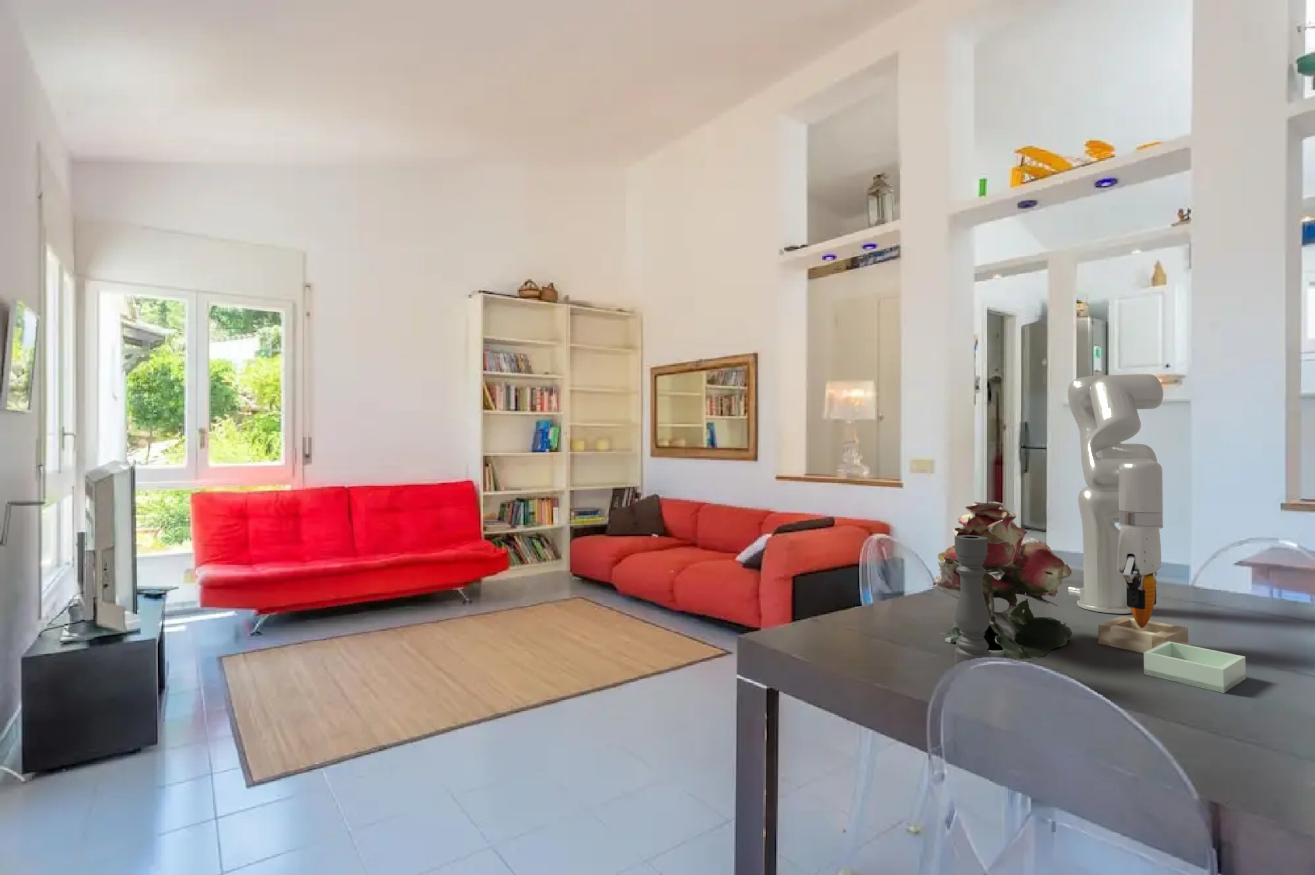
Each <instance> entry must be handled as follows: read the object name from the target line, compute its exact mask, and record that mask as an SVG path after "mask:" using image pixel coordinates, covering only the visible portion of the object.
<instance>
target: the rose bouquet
mask: <svg viewBox="0 0 1315 875" xmlns="http://www.w3.org/2000/svg"><path fill="white" fill-rule="evenodd" d="M973 502H974V501H973ZM1003 506H1004V503H1001V502H997V501H987V502H980V501H979V502H977V501H975V502H974V503H973V504H971V505H968V506H964V507H965V509H966V510H967V511H968V512H969V513H967V514H963V515H961V516H960V517H959V518H957V520H958V524H960V525H962V527H953V529H952V533H953V535H954V539H955V536H961V535H970V536H982V537H986V538H987V556H986V559H985V561H984V563H983V565H982V567H983V568H985V569H986V574H985V575H983V577H982V582H983V595H984V599H985V603H986V607H987V611H988V615H989V618H990V623H989V627H988V628H987V630H986V631H985V635H984V636H983V638H985V640H986V642H987V643H994V641H995V643H996V644H998V645H1000V646H1001V647H1002V650H998V649H997V650H991V649H990V650H989V648H988V649H987V650H988V651H989V652H990V653H992V654H995V655H998V656H1000V657H1004V658H1005V659H1008V658H1011V659H1014V660H1025V661H1027V662H1030V661H1031V662H1032V661H1034V660H1035V658H1036V659H1040V658H1043V657H1045V656H1046V655H1047V654H1050V653H1051V650H1053V649H1056V648H1060V647H1064V646H1066V645H1067V643H1068V641H1069V640H1072V639H1073V631H1072V630H1071V629H1072V628H1070V627H1069V626H1067V623H1066V622H1064V623H1062V622H1061V620H1058V619H1056V618H1053V617H1051V616H1049V617H1044V616H1043V617H1042V616H1039V617H1035V616H1034V613H1033V612H1032V611H1031V608H1030V604H1029V600H1028V599H1029V598H1032V599H1034V600H1036V601H1038V602H1041V603H1044V604H1047V605H1049V604H1051V605H1054V606H1055V607H1058V604H1055V603H1054V602H1051V601H1049V600H1046V599H1044V598H1043V596H1047V595H1048V596H1050V597H1052V598H1055V597H1056V595H1057V594H1058V593H1059V592H1058V587H1059V586H1061V585H1062V584H1063V582H1062V580H1063V579H1066V578H1068V577H1070V576H1071V575H1072V569H1071V567H1070V566H1069V564H1067V563H1066V564H1065V562H1064V561H1063V560H1062V558H1060V557H1058V556H1057V555H1056V554H1055V553H1054V552H1053V550H1052V549H1051V547H1050V546H1049V545H1048V544H1047V542H1046V541H1045V542H1044V541H1041V540H1040V539H1037V538H1035V537H1034V538H1033V537H1025V535H1026V534H1027V533H1028V531H1027V530H1025V528H1024V527H1022V528H1021V527H1018V525H1017V524H1015V522H1014V519H1016V518H1017V515H1016V513H1014V512H1011V511H1009V510H1008V509H1007V508H1004V507H1003ZM956 556H957V555H956V554H955V543H954V544H953V545H951V546H949V547H948V548H947V549H945V551H943V552H939V553H938V554H937V559H938V560H939V561H937V564H938V567H939V568H938V570H939V571H940V574H939V575H940V576H939V575H938V576H935V579H936V580H937V581H934V582H933V583H932V587H931V588H932V589H934V590H937V591H939V592H942V593H944V594H946V595H948V596H950V597H953V598H955V599H956V600H959V596H960V591H961V586H960V575H959V573H958V572H957V571H956V569H957V567H958V566H960V563H959V561H958V559H957V557H956ZM1017 595H1020V596H1021V595H1023V596H1027V597H1029V598H1025V599H1024V600H1022V601H1021V602H1019V603H1018V604H1017V602H1018V598H1017ZM994 599H1002V600H1005V601H1007V603H1008V607H1007V609H1006V610H1003V611H1001V612H998V611H997V612H996V611H995V601H994ZM959 631H960V629H959V628H958V627H957V625H956V623H955V622H953V623H952V626H951V629H949V630H947V631H944V632H939V633H938V634H939V635H950V636H949V637H945V638H944V642H945V643H948V644H953V643H956V641H957V639H959V637H960V635H961V633H960V632H959ZM1030 657H1032V658H1033V659H1032V658H1030ZM1025 661H1024V662H1025Z"/></svg>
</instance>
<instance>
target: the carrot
mask: <svg viewBox="0 0 1315 875" xmlns="http://www.w3.org/2000/svg"><path fill="white" fill-rule="evenodd" d="M1152 566H1153V565H1152ZM1133 574H1140V573H1138V572H1137V571H1136V573H1135V572H1133ZM1134 578H1136V579H1137V580H1138V582H1139V578H1138V577H1134ZM1156 582H1157V581H1156ZM1156 582H1155V578H1154V577H1152V576H1150V575H1145V576H1144V584H1143V590H1145V609H1137V608H1132V607H1130V608H1131V612H1132V613H1131V614H1132V618H1134V619H1135V621H1136V622H1137V624H1138V626H1139V627H1140V628H1143V627H1145V626H1146V624H1147V623H1148V621H1150V619H1151V617H1152V615H1153V610H1154V606H1155V605H1154V602H1155V587H1156V588H1157V583H1156Z"/></svg>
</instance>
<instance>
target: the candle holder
mask: <svg viewBox="0 0 1315 875" xmlns="http://www.w3.org/2000/svg"><path fill="white" fill-rule="evenodd" d="M954 537H955V538H954V544H955V554H956V555H957V556H956V557H957V559H958V561H959V563H960V566H958V567H957V569H956V571H957V572H958V573H959V575H960V586H961V591H960V596H959V599H957V604H956V609H955V614H954V623H956V625H957V627H958V628H959V629H960V631H959V632H960V633H961V635H960V637H959V639H957V641H956V642H955V644H956V646H957V647H955V649H954V666H955V665H956V664H958V663H960V662H962V661H964V660H971V659H975V658H982V657H990V658H991V652H989V651H990V650H989V647H990V645H989V644H990V643H989V642H986V640H985V638H983V636H984V635H985V631H986V630H987V628H988V627H989V623H990V618H989V615H988V611H987V607H986V603H985V599H984V595H983V582H982V577H983V575H985V574H986V569H985V568H983V567H982V565H983V563H984V561H985V559H986V556H987V538H986V537H982V536H970V535H961V536H955V535H954ZM987 649H988V650H989V651H988V650H987Z"/></svg>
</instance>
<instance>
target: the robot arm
mask: <svg viewBox="0 0 1315 875" xmlns="http://www.w3.org/2000/svg"><path fill="white" fill-rule="evenodd" d="M1067 399H1068V405H1069V408H1070V411H1071V414H1072V416H1073V418H1074V420H1075V422H1076V424H1077V428H1078V431H1079V441H1080V455H1081V457H1080V460H1081V468H1082V472H1083V477H1084V481H1085V484H1086V485H1087V486H1085V487H1083V488H1082V489H1081V490H1080V491H1079V493H1078V496H1077V497H1078V498H1077V499H1078V500H1077V501H1078V508H1079V512H1080V519H1081V524H1082V546H1083V547H1082V550H1083V552H1082V553H1083V554H1082V555H1083V558H1082V559H1083V586H1082V587H1077V586H1076V587H1075V586H1068V588H1067V594H1068V595H1070V596H1077V597H1078V598H1079V599H1077V600H1076V604H1077V606H1078V607H1079V608H1082V609H1084V610H1088V611H1091V612H1092V611H1093V612H1097V613H1098V612H1099V613H1105V614H1116V615H1118V614H1119V615H1120V614H1125V615H1126V614H1132V612H1131V608H1130V607H1132V608H1137V609H1145V590H1143V584H1144V576H1145V575H1150V576H1152V577H1154V578H1155V582H1156V584H1157V575H1158V573H1157V572H1158V571H1160V569H1161V568H1162V545H1161V532H1160V529H1163V528H1164V524H1163V523H1164V520H1163V519H1164V511H1163V510H1164V506H1163V505H1164V503H1163V501H1164V499H1163V498H1164V497H1163V496H1164V495H1163V468H1162V465H1161V463H1159V462H1158V460H1157V455H1156V453H1155V451H1154V449H1153V448H1152V447H1151V446H1149V445H1147V444H1144V443H1143V444H1142V443H1123V442H1124V441H1128V440H1129V439H1131V438H1133V437H1134V436H1136V435H1137V434H1138V433H1139V432H1140V431H1141V430H1140V429H1141V427H1142V424H1141V419H1140V417H1139V412H1138V410H1154V409H1157V408H1158V407H1160V406H1161V404H1162V402H1163V399H1164V389H1163V385H1162V383H1161V381H1160V379H1159V378H1158V377H1157V376H1156V375H1154V374H1149V373H1134V374H1133V373H1131V374H1130V373H1129V374H1105V375H1103V374H1102V375H1100V374H1099V375H1089V376H1083V377H1078V378H1076V379H1074V380H1072V381H1071V382H1070V384H1069V385H1068V389H1067ZM1117 523H1118V525H1119V527H1120V529H1119V528H1118V527H1117V526H1116V525H1115V524H1117ZM1152 565H1153V566H1152ZM1135 572H1136V573H1137V572H1138V573H1140V574H1134V573H1135ZM1134 577H1138V578H1139V582H1138V580H1137V579H1136V578H1134ZM1156 604H1157V586H1156V587H1155V602H1154V606H1155V605H1156Z"/></svg>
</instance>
